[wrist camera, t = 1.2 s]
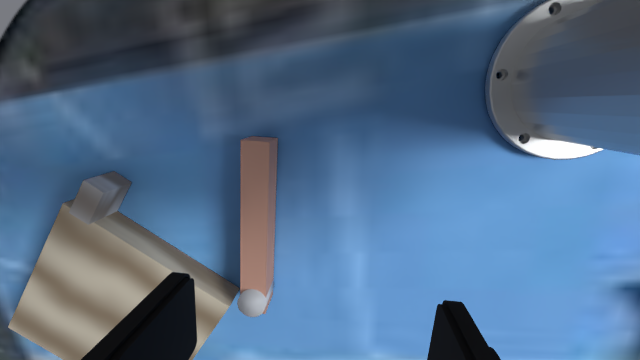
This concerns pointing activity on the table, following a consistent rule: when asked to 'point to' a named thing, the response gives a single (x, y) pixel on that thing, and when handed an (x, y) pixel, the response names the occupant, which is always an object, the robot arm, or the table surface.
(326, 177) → the table surface
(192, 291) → the robot arm
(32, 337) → the stool seat
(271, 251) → the folding leg
